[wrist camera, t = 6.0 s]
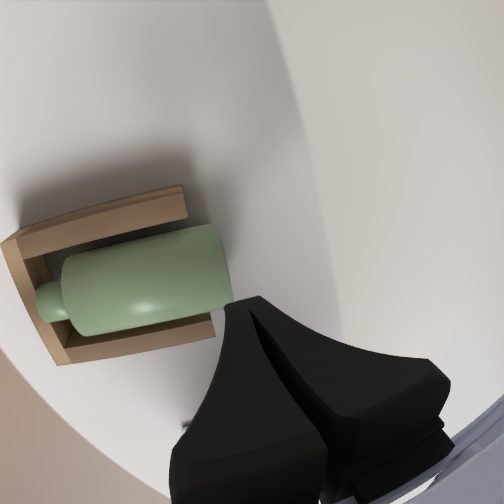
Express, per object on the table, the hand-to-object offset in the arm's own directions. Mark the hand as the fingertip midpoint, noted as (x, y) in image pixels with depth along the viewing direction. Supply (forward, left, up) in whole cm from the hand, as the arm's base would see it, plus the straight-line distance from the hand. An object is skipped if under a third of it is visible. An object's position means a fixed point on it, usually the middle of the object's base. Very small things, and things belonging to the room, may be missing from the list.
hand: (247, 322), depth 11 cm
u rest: (0, +6, -7) cm, 9 cm away
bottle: (0, 0, -5) cm, 5 cm away
